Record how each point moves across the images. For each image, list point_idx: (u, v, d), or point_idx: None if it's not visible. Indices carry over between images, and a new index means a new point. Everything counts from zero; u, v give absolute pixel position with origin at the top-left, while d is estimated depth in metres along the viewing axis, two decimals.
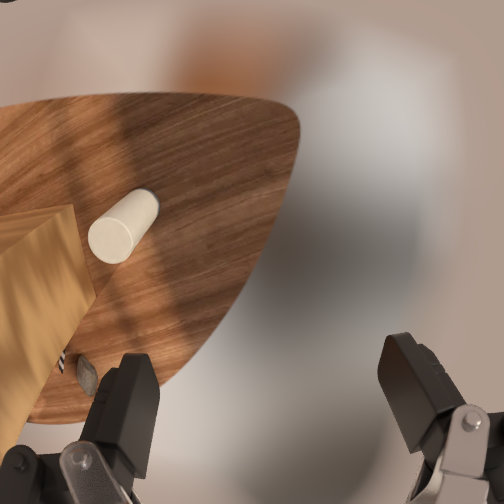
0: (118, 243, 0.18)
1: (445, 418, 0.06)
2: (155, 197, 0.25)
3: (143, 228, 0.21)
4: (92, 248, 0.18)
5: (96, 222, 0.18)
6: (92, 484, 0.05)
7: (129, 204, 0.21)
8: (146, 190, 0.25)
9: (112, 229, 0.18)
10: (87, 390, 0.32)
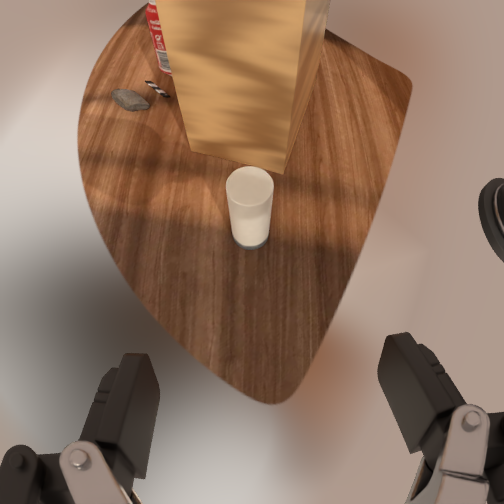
0: (244, 191, 0.20)
1: (445, 418, 0.06)
2: (253, 247, 0.27)
3: (239, 221, 0.23)
4: (250, 167, 0.21)
5: (271, 182, 0.21)
6: (92, 484, 0.05)
7: (266, 220, 0.23)
8: (263, 242, 0.27)
9: (258, 193, 0.20)
10: (118, 92, 0.32)
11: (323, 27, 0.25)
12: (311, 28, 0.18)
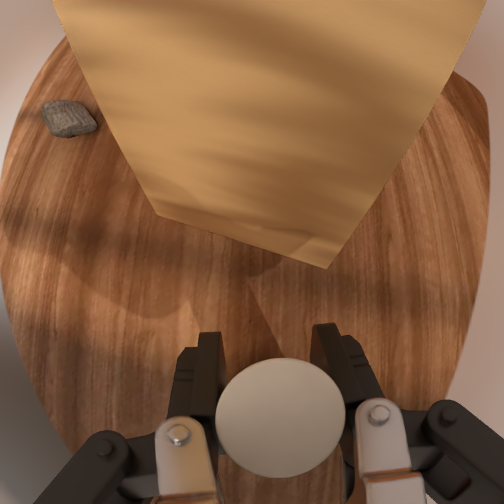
0: (266, 441, 0.06)
1: (356, 410, 0.07)
2: None
3: None
4: (285, 364, 0.07)
5: (341, 410, 0.07)
6: (199, 458, 0.06)
7: None
8: None
9: (306, 443, 0.06)
10: (50, 106, 0.18)
11: None
12: None
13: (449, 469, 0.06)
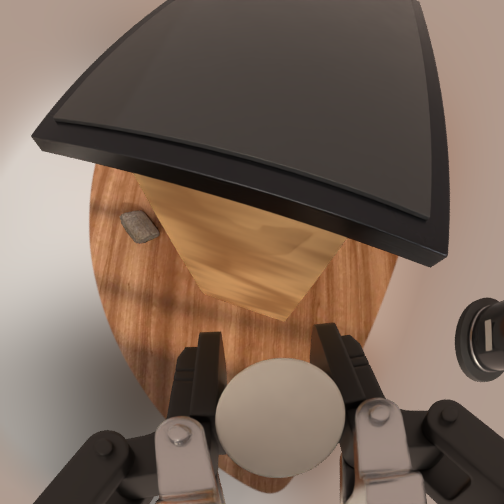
0: (266, 441, 0.06)
1: (356, 410, 0.07)
2: None
3: None
4: (285, 365, 0.07)
5: (341, 410, 0.07)
6: (199, 458, 0.06)
7: None
8: None
9: (306, 443, 0.06)
10: (127, 218, 0.37)
11: None
12: None
13: (449, 469, 0.06)
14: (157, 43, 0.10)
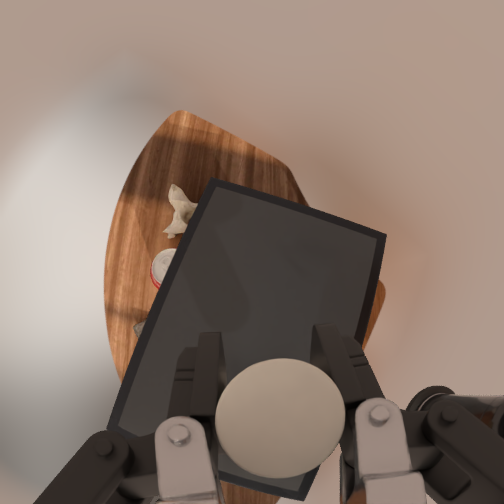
0: (266, 442, 0.06)
1: (356, 410, 0.07)
2: None
3: None
4: (285, 365, 0.07)
5: (341, 410, 0.07)
6: (199, 458, 0.06)
7: None
8: None
9: (306, 444, 0.06)
10: (139, 330, 0.45)
11: None
12: None
13: (449, 469, 0.06)
14: (164, 377, 0.18)
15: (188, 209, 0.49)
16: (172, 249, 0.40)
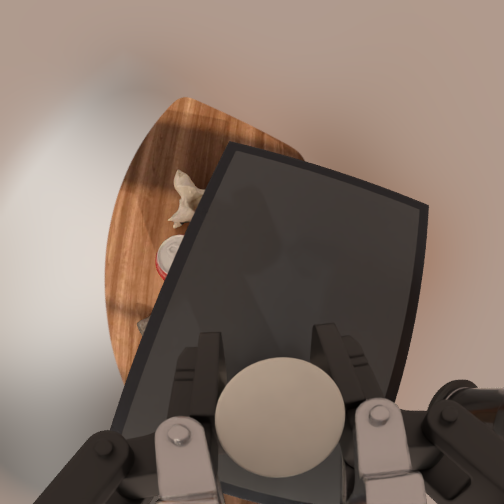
0: (266, 441, 0.06)
1: (356, 410, 0.07)
2: None
3: None
4: (285, 364, 0.07)
5: (341, 409, 0.07)
6: (199, 458, 0.06)
7: None
8: None
9: (306, 443, 0.06)
10: (143, 326, 0.41)
11: None
12: None
13: (449, 469, 0.06)
14: None
15: (195, 196, 0.46)
16: (179, 236, 0.36)
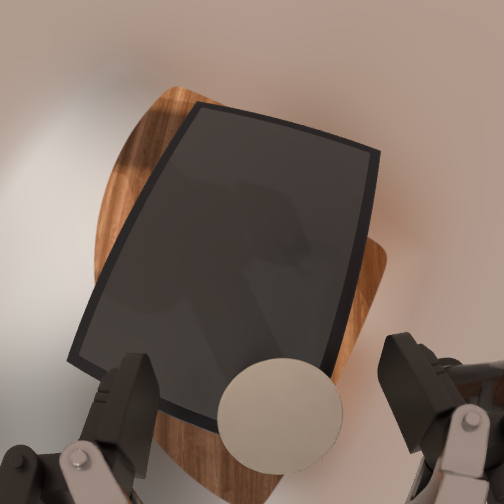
0: (266, 439, 0.07)
1: (445, 418, 0.06)
2: None
3: None
4: (284, 364, 0.07)
5: (339, 409, 0.07)
6: (92, 484, 0.05)
7: None
8: None
9: (305, 441, 0.07)
10: None
11: None
12: None
13: None
14: (134, 292, 0.16)
15: None
16: None
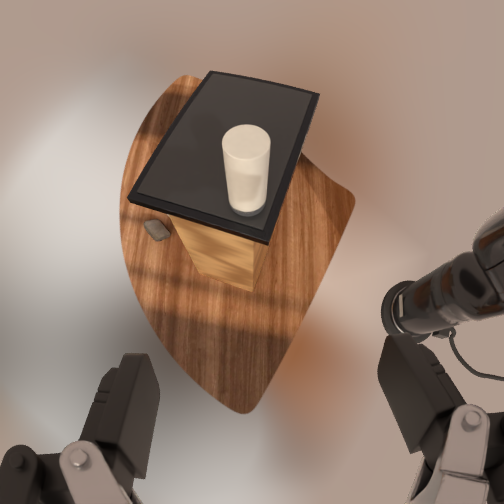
0: (240, 147, 0.20)
1: (445, 418, 0.06)
2: (250, 213, 0.26)
3: (235, 180, 0.22)
4: (247, 125, 0.20)
5: (268, 139, 0.20)
6: (92, 484, 0.05)
7: (263, 180, 0.22)
8: (260, 209, 0.26)
9: (255, 148, 0.20)
10: (148, 224, 0.56)
11: None
12: None
13: None
14: (174, 157, 0.29)
15: None
16: None
